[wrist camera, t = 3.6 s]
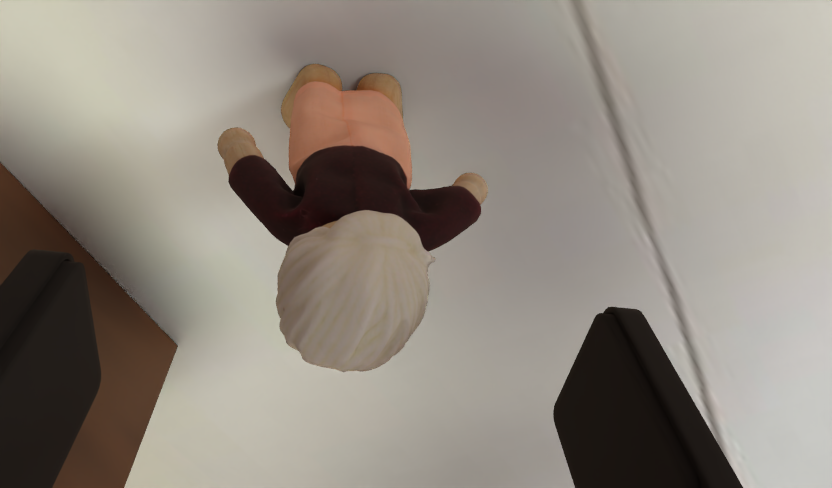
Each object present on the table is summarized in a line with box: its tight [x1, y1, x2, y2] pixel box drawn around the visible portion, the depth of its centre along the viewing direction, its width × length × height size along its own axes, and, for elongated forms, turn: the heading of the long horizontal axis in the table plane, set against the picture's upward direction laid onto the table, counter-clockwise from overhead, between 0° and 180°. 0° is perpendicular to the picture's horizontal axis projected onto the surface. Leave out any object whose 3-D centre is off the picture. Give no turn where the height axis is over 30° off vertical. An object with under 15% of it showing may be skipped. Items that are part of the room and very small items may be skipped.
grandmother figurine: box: [218, 64, 488, 372], centre depth 17 cm, size 8×4×13 cm, turn 89°
